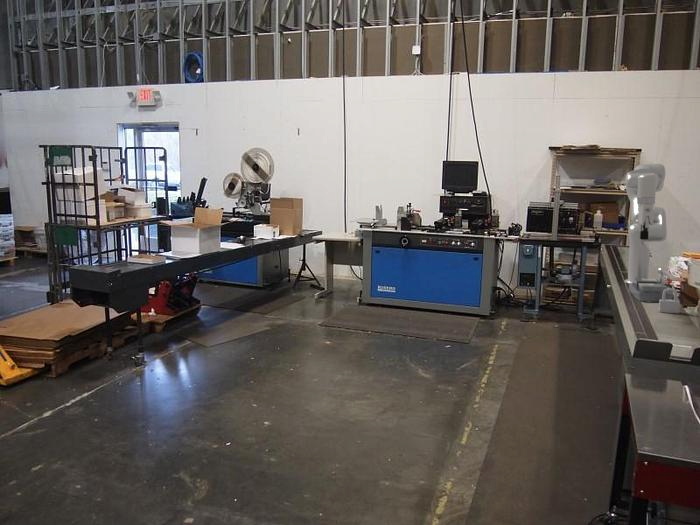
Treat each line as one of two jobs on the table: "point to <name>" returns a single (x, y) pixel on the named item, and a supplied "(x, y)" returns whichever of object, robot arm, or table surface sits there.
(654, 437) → the table surface
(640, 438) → the table surface
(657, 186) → the robot arm
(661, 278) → the cable arm
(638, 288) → the chassis
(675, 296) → the padlock
